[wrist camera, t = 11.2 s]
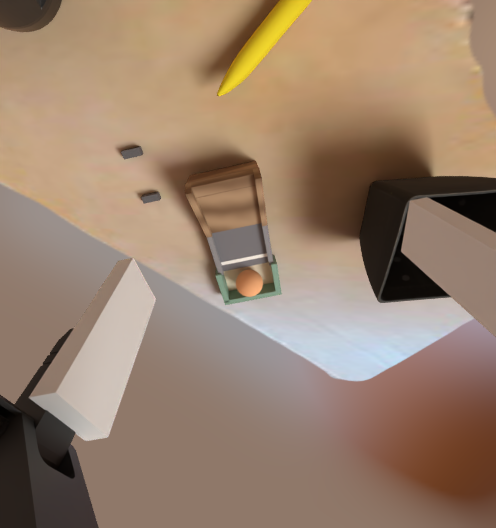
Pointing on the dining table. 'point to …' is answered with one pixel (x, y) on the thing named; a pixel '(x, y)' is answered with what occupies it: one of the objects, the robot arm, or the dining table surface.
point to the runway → (241, 247)
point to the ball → (249, 283)
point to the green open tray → (268, 276)
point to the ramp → (227, 198)
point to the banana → (262, 42)
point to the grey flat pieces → (134, 153)
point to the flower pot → (394, 221)
